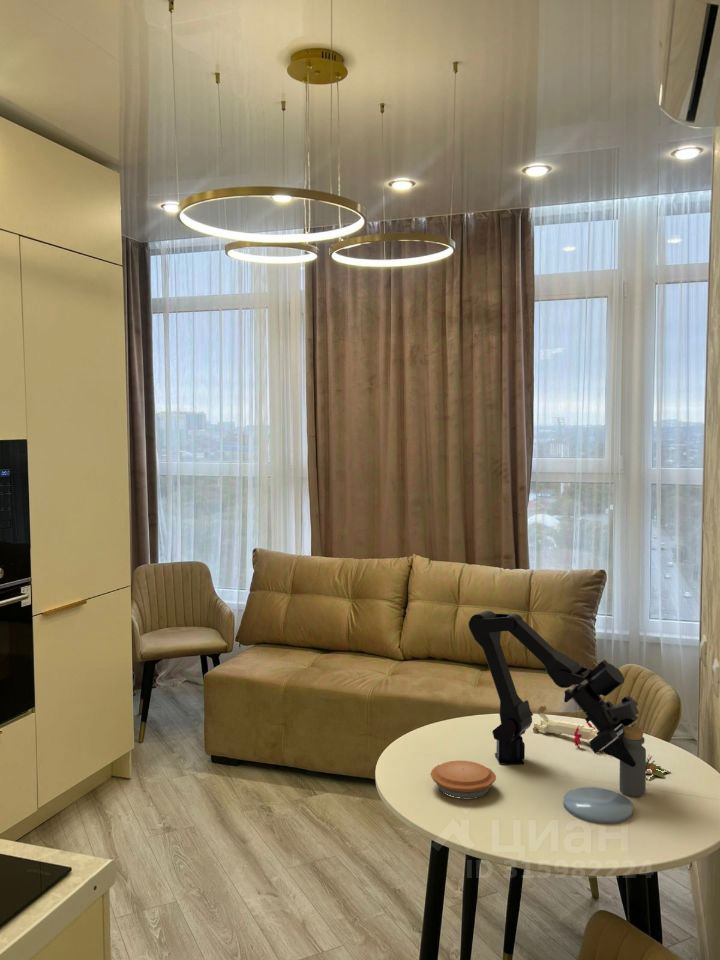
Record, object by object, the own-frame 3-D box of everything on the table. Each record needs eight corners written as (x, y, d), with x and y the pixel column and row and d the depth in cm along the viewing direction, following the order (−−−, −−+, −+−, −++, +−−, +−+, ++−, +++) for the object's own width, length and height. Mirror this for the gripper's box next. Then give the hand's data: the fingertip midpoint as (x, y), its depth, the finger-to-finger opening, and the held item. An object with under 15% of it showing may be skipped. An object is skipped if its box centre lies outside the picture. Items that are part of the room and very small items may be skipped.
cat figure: (529, 739, 227) (609, 756, 209) (527, 708, 227) (607, 723, 209) (548, 730, 234) (627, 746, 216) (546, 700, 234) (625, 714, 216)
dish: (574, 824, 173) (575, 817, 173) (555, 793, 188) (555, 787, 188) (642, 822, 173) (643, 816, 173) (618, 792, 188) (618, 786, 188)
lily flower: (680, 775, 199) (681, 757, 199) (650, 786, 193) (651, 768, 193) (640, 759, 209) (640, 742, 209) (610, 770, 203) (610, 752, 203)
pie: (450, 770, 201) (450, 751, 201) (506, 786, 192) (506, 765, 192) (418, 792, 189) (418, 771, 189) (477, 810, 180) (477, 788, 180)
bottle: (645, 788, 191) (646, 726, 190) (645, 798, 185) (646, 735, 185) (619, 785, 193) (620, 724, 192) (619, 795, 187) (620, 732, 186)
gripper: (603, 697, 183) (651, 756, 177) (630, 678, 198) (675, 731, 192) (570, 724, 188) (615, 781, 182) (598, 703, 203) (641, 756, 197)
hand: (638, 761), depth 188 cm, fingers closed on bottle, 6 cm apart
